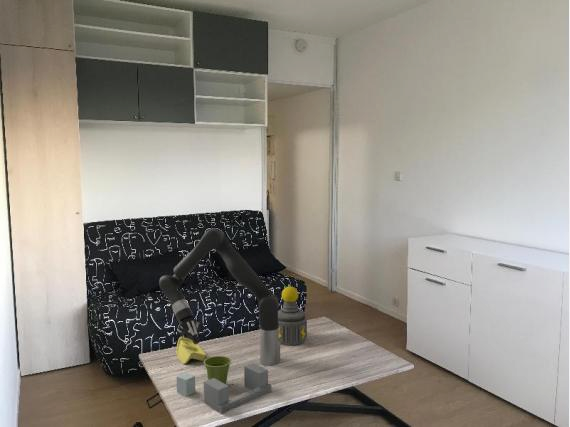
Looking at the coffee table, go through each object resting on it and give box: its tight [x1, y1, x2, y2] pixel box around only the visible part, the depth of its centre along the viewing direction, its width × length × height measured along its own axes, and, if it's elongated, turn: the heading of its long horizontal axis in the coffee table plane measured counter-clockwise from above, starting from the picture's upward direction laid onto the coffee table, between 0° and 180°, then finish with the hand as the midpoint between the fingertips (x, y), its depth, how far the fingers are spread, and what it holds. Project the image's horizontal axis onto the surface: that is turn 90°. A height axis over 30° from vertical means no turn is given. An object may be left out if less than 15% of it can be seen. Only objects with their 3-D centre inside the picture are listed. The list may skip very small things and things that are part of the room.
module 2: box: [203, 378, 230, 413], centre depth 189 cm, size 5×10×9 cm, turn 44°
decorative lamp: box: [278, 286, 308, 346], centre depth 259 cm, size 19×19×30 cm
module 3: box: [243, 362, 269, 390], centre depth 203 cm, size 5×10×9 cm, turn 44°
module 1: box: [175, 372, 196, 397], centre depth 200 cm, size 5×6×7 cm
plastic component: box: [176, 336, 207, 365], centre depth 238 cm, size 20×7×10 cm
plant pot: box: [203, 355, 232, 385], centre depth 205 cm, size 12×12×11 cm
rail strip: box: [218, 383, 272, 415], centre depth 192 cm, size 26×2×3 cm, turn 134°
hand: (197, 343), depth 216 cm, fingers closed
